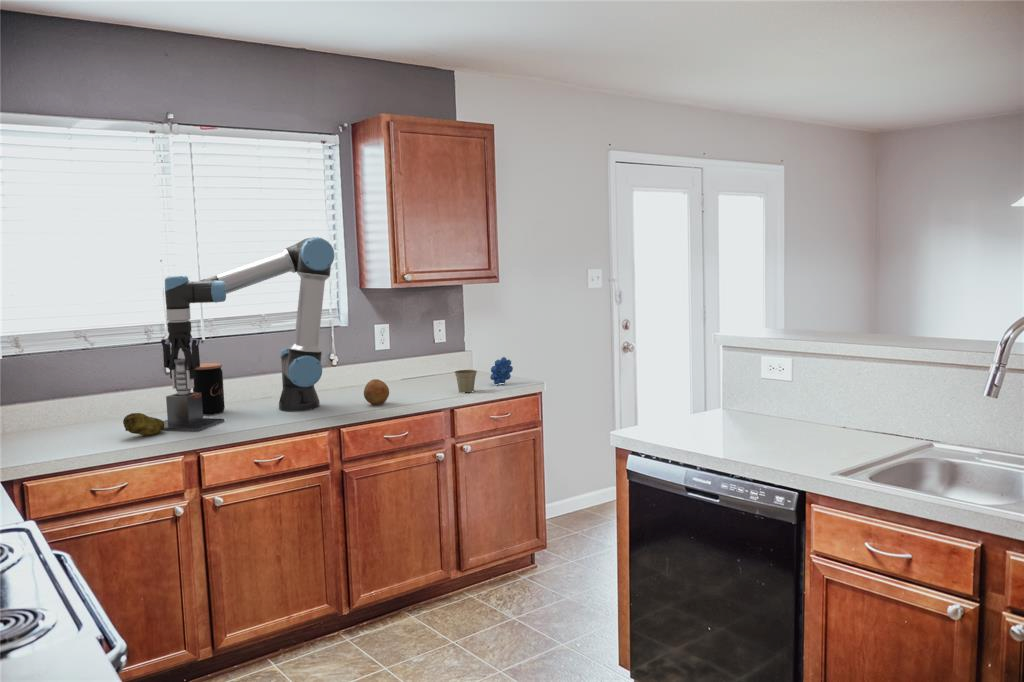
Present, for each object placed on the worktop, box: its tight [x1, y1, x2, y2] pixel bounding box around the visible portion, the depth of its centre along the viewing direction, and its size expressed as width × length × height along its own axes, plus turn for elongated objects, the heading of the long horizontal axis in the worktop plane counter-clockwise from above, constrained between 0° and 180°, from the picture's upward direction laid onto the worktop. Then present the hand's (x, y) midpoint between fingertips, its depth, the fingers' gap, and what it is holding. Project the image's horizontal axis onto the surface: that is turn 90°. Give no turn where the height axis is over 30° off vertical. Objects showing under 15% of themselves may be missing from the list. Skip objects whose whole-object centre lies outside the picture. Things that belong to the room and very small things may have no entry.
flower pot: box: [453, 369, 478, 393], centre depth 336 cm, size 9×9×9 cm
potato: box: [122, 412, 164, 437], centre depth 267 cm, size 8×13×8 cm, turn 125°
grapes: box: [490, 356, 514, 385], centre depth 353 cm, size 12×7×12 cm, turn 125°
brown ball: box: [363, 378, 390, 406], centre depth 312 cm, size 10×10×10 cm
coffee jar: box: [192, 362, 225, 416], centre depth 303 cm, size 11×11×18 cm
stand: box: [162, 391, 226, 433], centre depth 281 cm, size 20×16×11 cm
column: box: [174, 357, 192, 396], centre depth 280 cm, size 5×5×22 cm
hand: (183, 388), depth 280 cm, fingers closed on column, 5 cm apart
